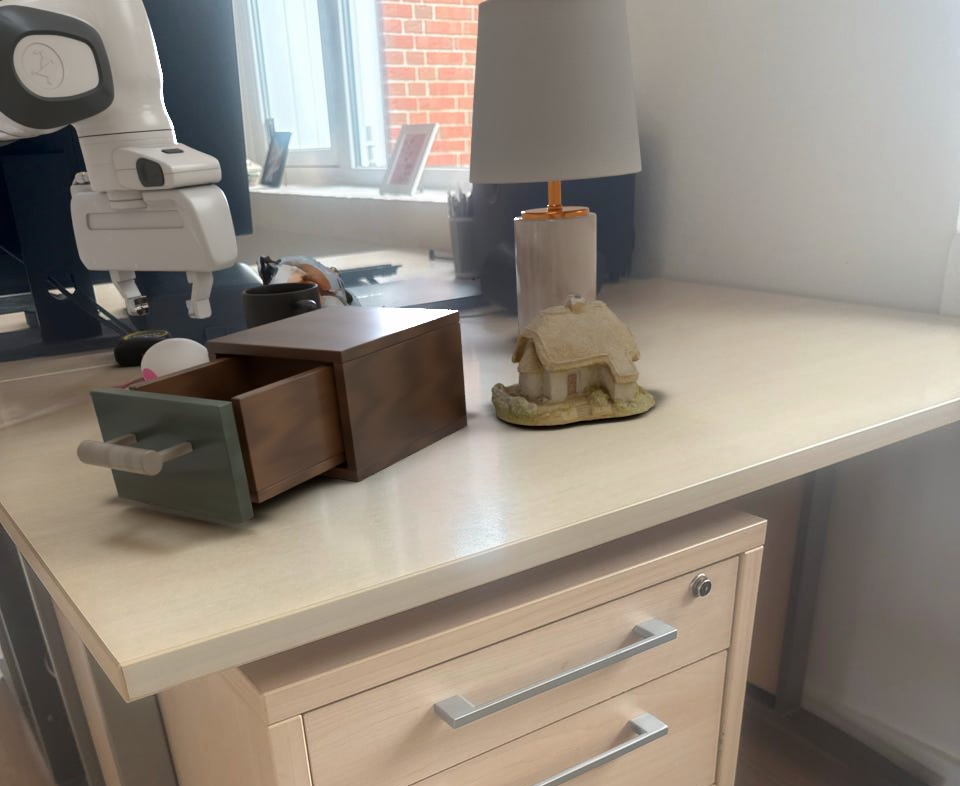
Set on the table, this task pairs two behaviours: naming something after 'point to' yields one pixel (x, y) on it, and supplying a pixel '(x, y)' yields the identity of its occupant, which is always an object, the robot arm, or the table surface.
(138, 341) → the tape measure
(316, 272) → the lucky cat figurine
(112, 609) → the table surface
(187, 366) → the stress ball
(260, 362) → the drawer
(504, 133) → the lamp
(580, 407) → the ceramic model
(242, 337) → the cabinet
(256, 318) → the mug
